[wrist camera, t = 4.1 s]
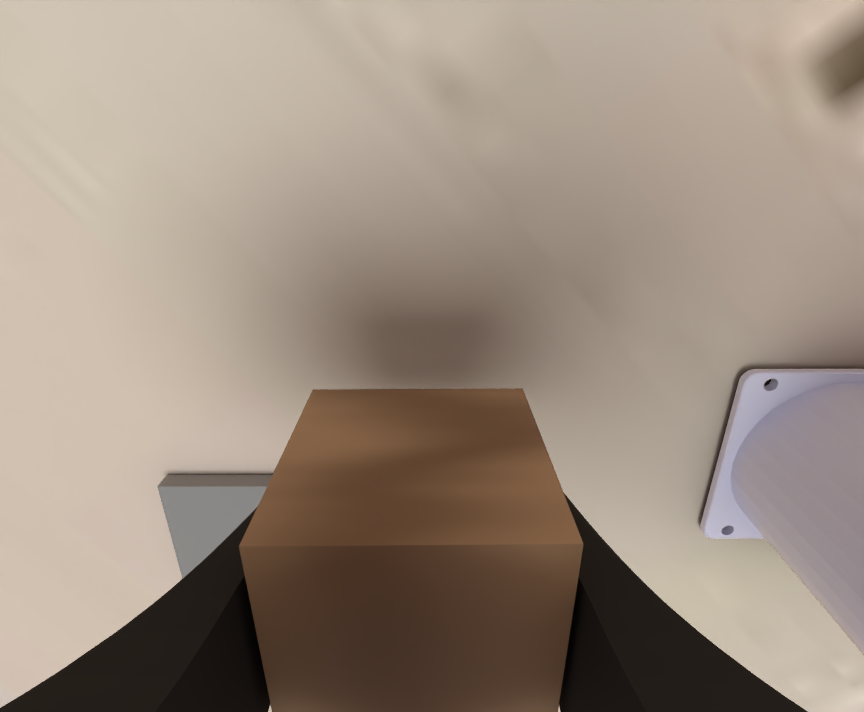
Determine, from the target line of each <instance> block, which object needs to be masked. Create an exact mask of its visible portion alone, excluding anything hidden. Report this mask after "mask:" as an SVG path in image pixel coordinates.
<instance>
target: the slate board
mask: <svg viewBox="0 0 864 712" xmlns="http://www.w3.org/2000/svg"><path fill="white" fill-rule="evenodd" d="M272 475H273V474H272ZM272 475H167V476H166V477H165V478H164V479H163V481H162V482H161V483H160V484H159V485H158V490H159V494H160V497H161V501H162V505H163V508H164V512H165V516H166V519H167V523H168V527H169V530H170V534H171V538H172V541H173V545H174V549H175V552H176V556H177V560H178V563H179V567H180V571H181V574H182V578H184V577H185V576H186V575H187V574H188V573H190V572H191V571H192V570H193V569H194V568H195V567H196V566H197V565H199V564H200V563H201V562H202V561H203V560H204V559H205V558H206V557H207V556H208V555H209V554H210V553H211V552H213V551H214V550H215V549H216V548H217V547H218V546H219V545H220V544H221V543H222V542H223V541H224V540H225V539H226V538H227V537H228V536H229V535H230V534H231V533H232V532H233V531H234V530H235V529H236V528H237V527H238V526H239V525H240V524H241V523H242V522H243V521H244V520H245V519H246V518H247V517H248V516H249V515H250V514H251V513H252V512H253V511H254V510H255V509H256V508H257V506H258V505H259V503H260V501H261V499H262V496H263V494H264V492H265V490H266V488H267V486H268V484H269V482H270V480H271V477H272ZM270 706H271V703H270Z"/></svg>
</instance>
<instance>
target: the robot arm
mask: <svg viewBox="0 0 864 712" xmlns="http://www.w3.org/2000/svg"><path fill="white" fill-rule="evenodd" d="M769 379H771V382H770V383H769V384H768V385H767V386H764V384H765V382H766V381H767V380H769ZM563 493H564V492H563ZM564 495H565V494H564ZM565 498H566V501H567V503H568V506H569V508H570V511H571V513H572V516H573V518H574V521H575V524H576V526H577V529H578V531H579V534H580V536H581V539H582V541H583V551H582V557H581V564H580V570H579V577H578V583H577V590H576V596H575V603H574V609H573V616H572V622H571V629H570V635H569V642H568V648H567V655H566V661H565V668H564V674H563V681H562V687H561V694H560V700H559V706H560V711H561V712H807V711H806V710H804V709H803V708H801V707H800V706H798V705H797V704H795V703H794V702H792V701H791V700H789V699H788V698H786V697H785V696H783V695H782V694H781V693H779V692H778V691H776V690H775V689H774V688H772V687H771V686H769V685H768V684H766V683H765V682H764V681H762V680H761V679H759V678H758V677H757V676H755V675H754V674H752V673H751V672H750V671H748V670H747V669H746V668H745V667H743V666H742V665H741V664H739V663H738V662H737V661H735V660H734V659H733V658H731V657H730V656H729V655H727V654H726V653H725V652H723V651H722V650H721V649H719V648H718V647H717V646H716V645H714V644H713V643H712V642H711V641H709V640H708V639H707V638H706V637H704V636H703V635H702V634H701V633H699V632H698V631H697V630H696V629H695V628H694V627H692V626H691V625H690V624H689V623H688V622H687V621H685V620H684V619H683V618H682V617H681V616H680V615H678V614H677V613H676V612H675V611H674V610H673V609H671V608H670V607H669V606H668V605H667V604H666V603H665V602H664V601H663V600H661V599H660V598H659V597H658V596H657V595H656V594H655V593H654V592H653V591H652V590H651V589H650V588H649V587H648V586H647V585H646V584H645V583H644V582H643V581H642V580H641V579H640V578H639V577H638V576H637V575H636V574H635V573H634V572H633V571H632V570H631V569H630V568H629V567H628V566H627V565H626V564H625V563H624V562H623V561H622V560H621V559H620V557H619V556H618V555H617V554H616V553H615V552H614V551H613V550H612V549H611V548H610V547H609V545H608V544H607V543H606V542H605V541H604V540H603V539H602V538H601V537H600V535H599V534H598V533H597V532H596V531H595V530H594V529H593V527H592V526H591V525H590V524H589V523H588V522H587V520H586V519H585V518H584V517H583V516H582V514H581V513H580V512H579V511H578V510H577V508H576V507H575V506H574V505H573V503H572V502H571V501H570V500H569V499H568V497H567V496H566V495H565ZM257 507H258V506H257ZM256 509H257V508H256ZM256 509H255V510H254V511H253V512H252V513H251V514H250V515H249V516H248V517H247V518H246V519H245V520H244V521H243V522H242V523H241V524H240V525H239V526H238V527H237V528H236V529H235V530H234V531H233V532H232V533H231V534H230V535H229V536H228V537H227V538H226V539H225V540H224V541H223V542H222V543H221V544H220V545H219V546H218V547H217V548H216V549H215V550H214V551H213V552H211V553H210V554H209V555H208V556H207V557H206V558H205V559H204V560H203V561H202V562H201V563H200V564H199V565H197V566H196V567H195V568H194V569H193V570H192V571H191V572H190V573H188V574H187V575H186V576H185V577H184V578H183V579H182V580H181V581H180V582H178V583H177V584H176V585H175V586H174V587H173V588H172V589H171V590H169V591H168V592H167V593H166V594H165V595H163V596H162V597H161V598H160V599H158V600H157V601H156V602H155V603H154V604H152V605H151V606H150V607H148V608H147V609H146V610H145V611H143V612H142V613H141V614H139V615H138V616H137V617H136V618H134V619H133V620H132V621H130V622H129V623H128V624H126V625H125V626H124V627H122V628H121V629H120V630H118V631H117V632H116V633H114V634H113V635H111V636H110V637H108V638H107V639H106V640H104V641H103V642H101V643H100V644H98V645H97V646H95V647H94V648H93V649H91V650H90V651H88V652H87V653H85V654H84V655H82V656H81V657H80V658H78V659H77V660H75V661H74V662H72V663H71V664H69V665H68V666H67V667H65V668H64V669H62V670H61V671H59V672H58V673H56V674H55V675H53V676H51V677H50V678H48V679H47V680H45V681H43V682H42V683H40V684H39V685H37V686H36V687H34V688H32V689H31V690H29V691H28V692H26V693H24V694H23V695H21V696H20V697H18V698H16V699H15V700H13V701H11V702H10V703H8V704H6V705H5V706H3V707H1V708H0V712H268V709H269V706H270V698H269V693H268V688H267V683H266V679H265V674H264V669H263V664H262V659H261V654H260V649H259V644H258V639H257V634H256V629H255V624H254V619H253V614H252V609H251V604H250V599H249V594H248V589H247V584H246V580H245V575H244V570H243V565H242V560H241V555H240V550H239V545H240V543H241V541H242V539H243V537H244V535H245V532H246V530H247V528H248V526H249V524H250V522H251V520H252V518H253V516H254V513H255V511H256ZM725 526H727V527H725ZM724 527H725V528H724ZM700 528H701V530H702V532H703V533H704V534H705V536H707V537H708V538H713V539H743V538H765V539H766V540H767V541H768V542H769V543H770V545H771V546H772V547H773V548H774V549H775V550H776V552H777V553H778V554H779V555H780V556H781V558H782V559H783V560H784V561H785V562H786V564H787V565H788V566H789V567H790V568H791V569H792V571H793V572H794V573H795V574H796V575H797V577H798V578H799V579H800V580H801V581H802V582H803V584H804V585H805V586H806V587H807V588H808V590H809V591H810V592H811V593H812V594H813V596H814V597H815V598H816V599H817V600H818V601H819V603H820V604H821V605H822V606H823V607H824V609H825V610H826V611H827V612H828V613H829V614H830V616H831V617H832V618H833V619H834V620H835V622H836V623H837V624H838V625H839V626H840V627H841V629H842V630H843V631H844V632H845V633H846V635H847V636H848V637H849V638H850V639H851V641H852V642H853V643H854V644H855V645H856V646H857V648H858V649H859V650H860V651H861V652H862V654H863V655H864V369H752V370H749V371H747V372H745V373H744V374H743V375H742V376H741V378H740V380H739V383H738V386H737V390H736V394H735V398H734V401H733V405H732V409H731V413H730V416H729V420H728V424H727V427H726V431H725V435H724V439H723V442H722V446H721V450H720V454H719V457H718V461H717V465H716V469H715V472H714V476H713V480H712V483H711V487H710V491H709V495H708V498H707V502H706V506H705V510H704V513H703V517H702V521H701V525H700Z"/></svg>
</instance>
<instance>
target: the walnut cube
mask: <svg viewBox="0 0 864 712" xmlns="http://www.w3.org/2000/svg"><path fill="white" fill-rule="evenodd" d="M239 550H240V555H241V560H242V565H243V570H244V575H245V580H246V584H247V589H248V594H249V599H250V604H251V609H252V614H253V619H254V624H255V629H256V634H257V639H258V644H259V649H260V654H261V659H262V664H263V669H264V674H265V679H266V683H267V688H268V693H269V698H270V703H271V708H272V712H558V707H559V700H560V694H561V687H562V681H563V674H564V668H565V661H566V655H567V648H568V642H569V635H570V629H571V622H572V616H573V609H574V603H575V596H576V590H577V583H578V577H579V570H580V564H581V557H582V551H583V541H582V539H581V536H580V534H579V531H578V529H577V526H576V524H575V521H574V518H573V516H572V513H571V511H570V508H569V506H568V503H567V501H566V498H565V495H564V493H563V490H562V488H561V485H560V483H559V480H558V478H557V475H556V473H555V470H554V467H553V465H552V462H551V460H550V457H549V455H548V452H547V450H546V447H545V445H544V442H543V439H542V437H541V434H540V432H539V429H538V427H537V424H536V422H535V419H534V417H533V414H532V411H531V409H530V406H529V404H528V401H527V399H526V396H525V394H524V391H523V389H354V390H313V391H312V393H311V395H310V397H309V399H308V401H307V403H306V405H305V407H304V410H303V412H302V414H301V416H300V418H299V420H298V422H297V424H296V427H295V429H294V431H293V433H292V435H291V437H290V439H289V441H288V444H287V446H286V448H285V450H284V452H283V454H282V456H281V458H280V460H279V463H278V465H277V467H276V469H275V471H274V473H273V475H272V477H271V480H270V482H269V484H268V486H267V488H266V490H265V492H264V494H263V496H262V499H261V501H260V503H259V505H258V507H257V509H256V511H255V513H254V516H253V518H252V520H251V522H250V524H249V526H248V528H247V530H246V532H245V535H244V537H243V539H242V541H241V543H240V545H239Z"/></svg>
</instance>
